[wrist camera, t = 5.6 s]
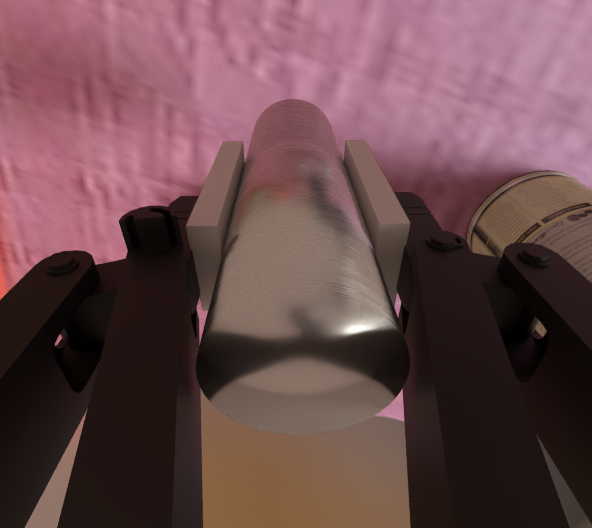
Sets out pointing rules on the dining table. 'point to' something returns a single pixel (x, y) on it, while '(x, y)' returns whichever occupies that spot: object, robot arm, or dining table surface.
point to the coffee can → (537, 219)
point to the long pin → (299, 291)
